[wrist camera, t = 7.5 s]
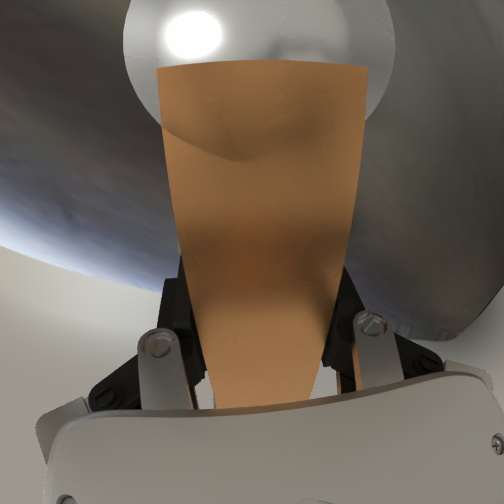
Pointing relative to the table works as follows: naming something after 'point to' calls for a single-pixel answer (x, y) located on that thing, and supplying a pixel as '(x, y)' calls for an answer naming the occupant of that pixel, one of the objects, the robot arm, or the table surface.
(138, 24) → the orange dumbbell
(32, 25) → the table surface
